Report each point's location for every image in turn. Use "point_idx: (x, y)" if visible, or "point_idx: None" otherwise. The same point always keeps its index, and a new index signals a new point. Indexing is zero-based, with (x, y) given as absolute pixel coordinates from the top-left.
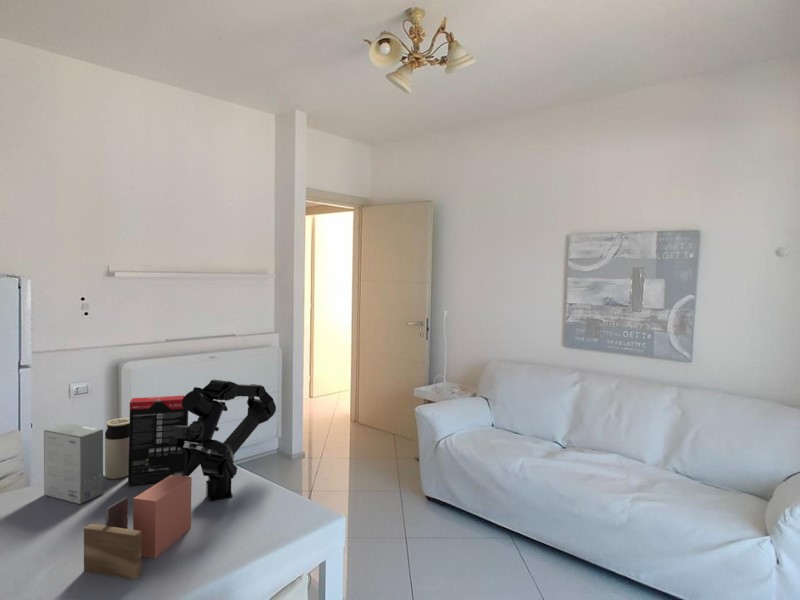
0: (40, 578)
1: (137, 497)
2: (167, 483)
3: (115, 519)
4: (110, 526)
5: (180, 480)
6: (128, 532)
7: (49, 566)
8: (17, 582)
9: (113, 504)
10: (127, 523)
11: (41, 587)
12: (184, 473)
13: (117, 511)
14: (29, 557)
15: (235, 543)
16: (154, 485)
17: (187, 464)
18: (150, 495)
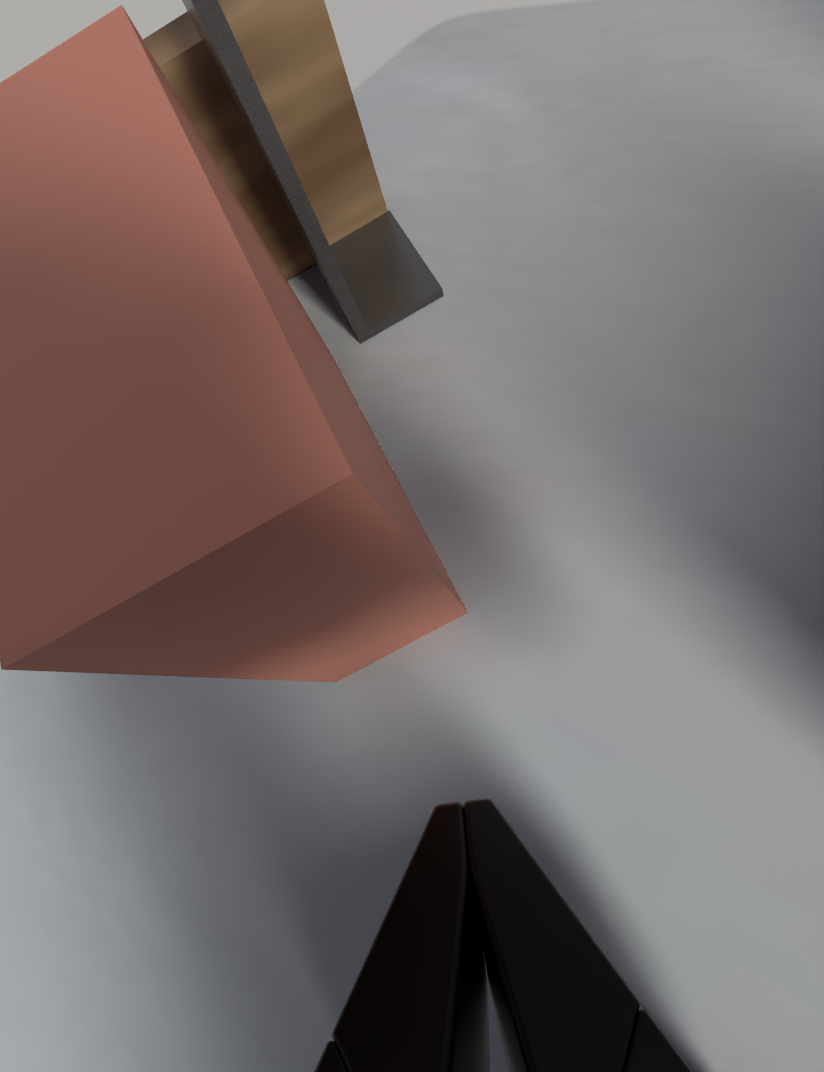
0: (451, 86)
1: (104, 31)
2: (123, 321)
3: (212, 55)
4: (187, 48)
5: (53, 484)
6: None
7: (517, 107)
8: (487, 33)
9: None
10: (293, 207)
11: (388, 90)
12: (485, 815)
13: (186, 2)
14: (664, 49)
15: (10, 759)
16: (204, 191)
17: (504, 994)
18: (35, 120)
